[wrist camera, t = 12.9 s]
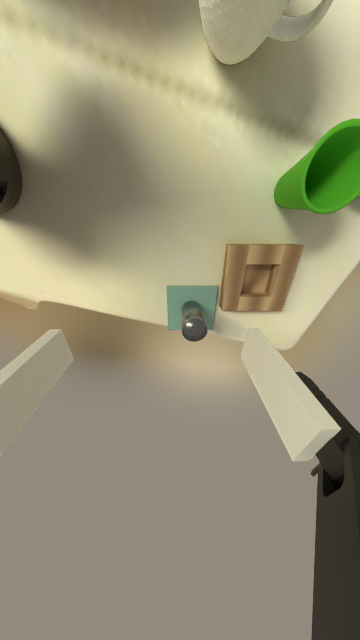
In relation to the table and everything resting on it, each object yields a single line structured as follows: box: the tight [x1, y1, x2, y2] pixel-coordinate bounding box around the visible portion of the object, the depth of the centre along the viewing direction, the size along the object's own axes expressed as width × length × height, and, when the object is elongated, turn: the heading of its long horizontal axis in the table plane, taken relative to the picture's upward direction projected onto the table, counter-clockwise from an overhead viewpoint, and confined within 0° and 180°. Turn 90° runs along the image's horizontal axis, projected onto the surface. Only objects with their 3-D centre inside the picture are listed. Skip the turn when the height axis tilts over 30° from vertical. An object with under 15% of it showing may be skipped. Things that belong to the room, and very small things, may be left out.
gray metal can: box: [181, 301, 207, 341], centre depth 36 cm, size 5×5×10 cm
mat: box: [167, 286, 218, 330], centre depth 41 cm, size 12×12×1 cm
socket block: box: [219, 244, 304, 311], centre depth 36 cm, size 14×14×4 cm
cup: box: [274, 119, 360, 214], centre depth 25 cm, size 9×9×11 cm
